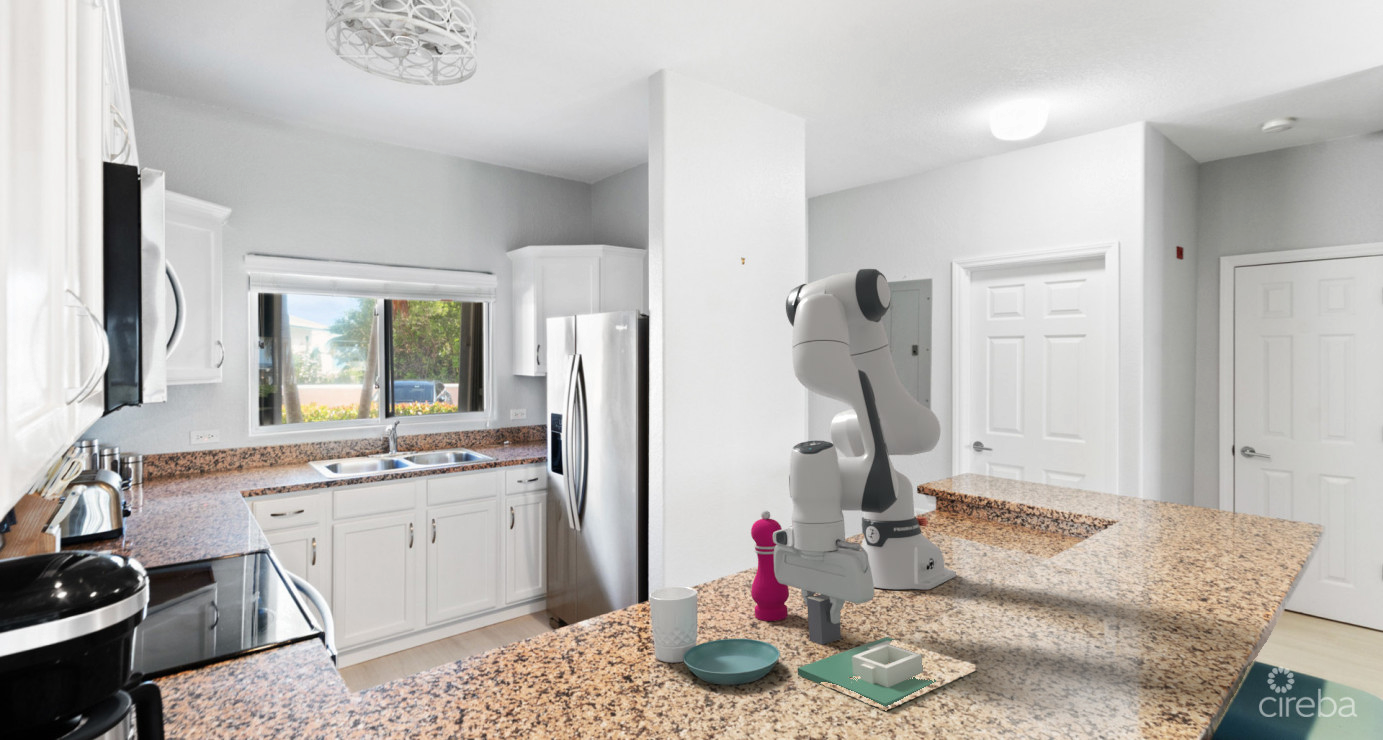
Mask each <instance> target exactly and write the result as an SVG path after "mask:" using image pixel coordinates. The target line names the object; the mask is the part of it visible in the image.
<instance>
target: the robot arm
mask: <svg viewBox="0 0 1383 740" xmlns="http://www.w3.org/2000/svg"><path fill="white" fill-rule="evenodd" d="M890 307H891V289H890V286H889V283H888V280H887V278H886V276H885V275H884V274H883V273H882V272H881V271H880V270H878V269H876V268H862V269H859V270H858V271H848V272H841V273H837V274H831V275H830V276H827V277H824V278H820V279H818V280H817V279H816V280H815V281H811V282H810V283H803V284H800V285H798V286H796V287H794V288H792V289H791V290H790V292H789V293H788V296H787V298H786V301H785V313H786V316H787V318H788V319H787V320H788V322H789V323H790V325H791V326H792V327H793V328H792V344H791V345H792V349H791V351H792V352H791V353H792V365H793V371H794V376H795V377H796V378H797V380H798V382H799V383H800V384H801V385H802V386H803V387H804V388H806V389H808V390H809V391H811V392H812V393H815V394H817V395H820V396H823V397H826V398H828V399H832V400H836V401H839V402H842V403H844V404H846V405H848V406H849V407H851V409H847V410H844V411H841V412H838V413H836V414H835V416H834V417H833V418H832V420H831V422H830V427H829V435H830V441H826V440H806V441H802V442H799V443H797V444H795V445H793V447H792V448H791V451H790V452H791V453H790V460H789V461H790V463H789V464H790V466H789V475H788V485H789V487H788V488H789V495H790V498H791V500H792V506H793V509H792V515H791V526H789V527H788V526H787V527H786V528H782V530H778V531H775V532H774V533H773V541H774V543H775V544H777V545H776V546H775V548H774V571H775V577H776V579H777V581H778V582H779V583H780V584H784V585H788V587H793V588H796V589H799V590H800V591H801V596H802V599H803V601H804V604H805V605H806V606H807V597H810V596H815V595H816V594H817V595H821V594H822V595H826V596H830V603H833V604H832V607H831V610H830V611H827V612H826V615H827V621H828V622H830V623H833V624H836V623H839V622H840V623H841V611H842V609H843V607H844V605H845V602H850V603H852V604H857V605H860V604H864V603H865V604H866V603H867V602H870V601H872V600H873V598H874V596H875V588H878V589H886V590H931V589H933V588H935V587H937V586H939V585H942V584H943V583H945V582H948V581H949V580H951V579H953V578H955V577H957V573H956V571H955V570H954V569H950V568H947V567H945V562H944V561H945V560H944V555H943V552H942V550H941V548H940V547H939V546H937V544H935V543H933V542H932V541H931V540H930V539H928V538H927V537H926V536H925V535H924V534H923V533H922V529H921V527H927V526H928V524H929V520H928V519H927V517H925V516H923V517H921V516H917V517H916V516H915V504H914V503H915V502H914V489H913V484H912V482H911V480H910V479H909V478H908V477H907V475H904V474H903V473H902V472H899V471H898V470H896V469H895V468H894V465H893V462H892V461H891V458H890V456H913V455H919V454H923V453H924V454H925V453H927V452H931V451H932V450H934V449H935V448H936V446H937V445H938V443H939V440H940V437H941V425H940V421H939V418H938V417H937V416H936V414H935V413H934V412H933V410H932V409H930V408H929V407H927V406H925V405H923V404H921V402H918V400H916V398H914V397H913V396H912V395H911V394H910V393H909V391H908V390H907V388H905V386H904V385H903V383H902V382H901V379H900V378H899V376H898V373H897V370H896V366H895V364H894V359H893V356H892V352H891V349H890V344H889V340H888V336H887V333H886V330H885V327H884V323H883V321H882V318H883V316H885V315H886V313H887V312H888V310H889V308H890ZM837 450H838V451H839V452H841V454H843V455H844V456H843V457H840V456H839V457H838V452H837ZM843 511H852V512H853V511H855V512H856V511H858V512H860V511H861V512H862V513H863V517H861V533H862V534H863V536H864V537H863V539H862V541H861V543H858V542H850V541H847V540H846V530H845V517H844V513H843Z"/></svg>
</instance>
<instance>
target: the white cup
mask: <svg viewBox="0 0 1383 740" xmlns="http://www.w3.org/2000/svg"><path fill="white" fill-rule="evenodd" d="M649 605H650V618H651V627H652V628H651V629H652V637H653V641H654V655H655V658H656V659H657V660H658V661H660V662H663V663H673V664H674V663H683V662H684V660H683V656H684V654H685V653H686V651H688V650H689V649H691V648H692V647H694V646H697V645H698V643H697V642H698V641H697V638H698V624H699V623H698V590H697V589H695V588H693V587H687V586H671V587H663V588H658V589H655V590H653V591H651V592H650V593H649ZM684 663H685V662H684Z"/></svg>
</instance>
